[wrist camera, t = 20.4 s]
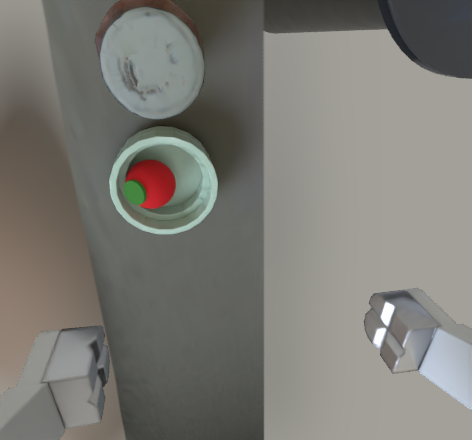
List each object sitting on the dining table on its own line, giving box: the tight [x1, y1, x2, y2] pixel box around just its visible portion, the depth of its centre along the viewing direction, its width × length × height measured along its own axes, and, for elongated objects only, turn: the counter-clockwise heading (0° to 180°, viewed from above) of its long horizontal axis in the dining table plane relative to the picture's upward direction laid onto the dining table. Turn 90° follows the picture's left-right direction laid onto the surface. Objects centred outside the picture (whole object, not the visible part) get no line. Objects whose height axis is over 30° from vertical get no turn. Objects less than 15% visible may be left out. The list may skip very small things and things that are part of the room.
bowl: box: [109, 126, 218, 234], centre depth 33 cm, size 10×10×4 cm
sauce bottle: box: [95, 0, 205, 119], centre depth 21 cm, size 6×6×20 cm
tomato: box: [124, 159, 176, 209], centre depth 32 cm, size 5×5×5 cm
